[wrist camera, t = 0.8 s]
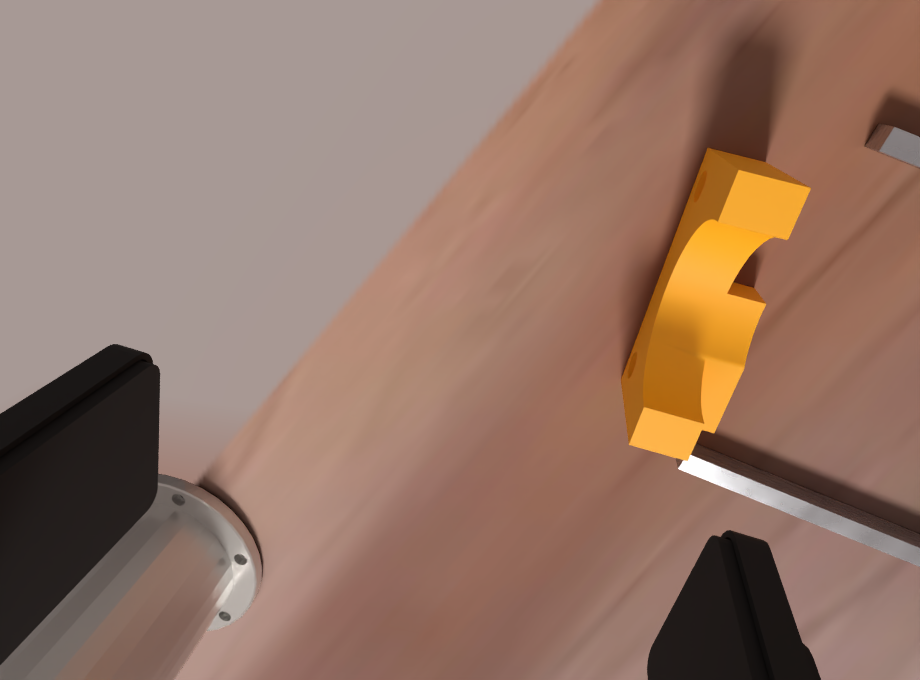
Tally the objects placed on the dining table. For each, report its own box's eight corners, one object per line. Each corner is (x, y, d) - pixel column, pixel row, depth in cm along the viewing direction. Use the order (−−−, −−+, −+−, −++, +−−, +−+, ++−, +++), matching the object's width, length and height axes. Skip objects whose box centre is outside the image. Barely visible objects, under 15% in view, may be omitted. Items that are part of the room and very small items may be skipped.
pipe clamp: (702, 400, 34) (727, 472, 28) (620, 378, 34) (629, 444, 28) (804, 171, 29) (860, 200, 23) (706, 147, 29) (738, 169, 23)
